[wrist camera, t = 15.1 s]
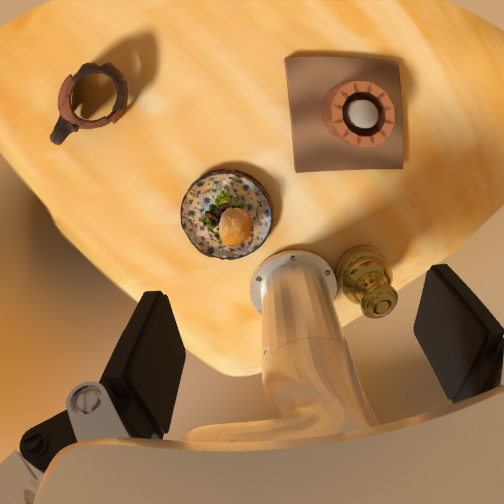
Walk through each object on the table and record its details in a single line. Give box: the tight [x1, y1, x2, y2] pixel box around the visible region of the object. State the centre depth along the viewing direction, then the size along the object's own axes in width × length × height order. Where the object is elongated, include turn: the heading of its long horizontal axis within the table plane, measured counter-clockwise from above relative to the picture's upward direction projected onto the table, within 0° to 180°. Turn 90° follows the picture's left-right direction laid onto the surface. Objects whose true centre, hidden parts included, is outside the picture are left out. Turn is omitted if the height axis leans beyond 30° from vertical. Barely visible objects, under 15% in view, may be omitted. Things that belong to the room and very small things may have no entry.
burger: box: [181, 169, 273, 260], centre depth 35 cm, size 12×12×8 cm
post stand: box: [284, 57, 403, 173], centre depth 29 cm, size 14×14×6 cm
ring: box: [321, 81, 395, 147], centre depth 28 cm, size 7×7×5 cm
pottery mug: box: [50, 62, 128, 145], centre depth 29 cm, size 12×10×8 cm
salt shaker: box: [337, 245, 398, 319], centre depth 37 cm, size 7×7×10 cm
